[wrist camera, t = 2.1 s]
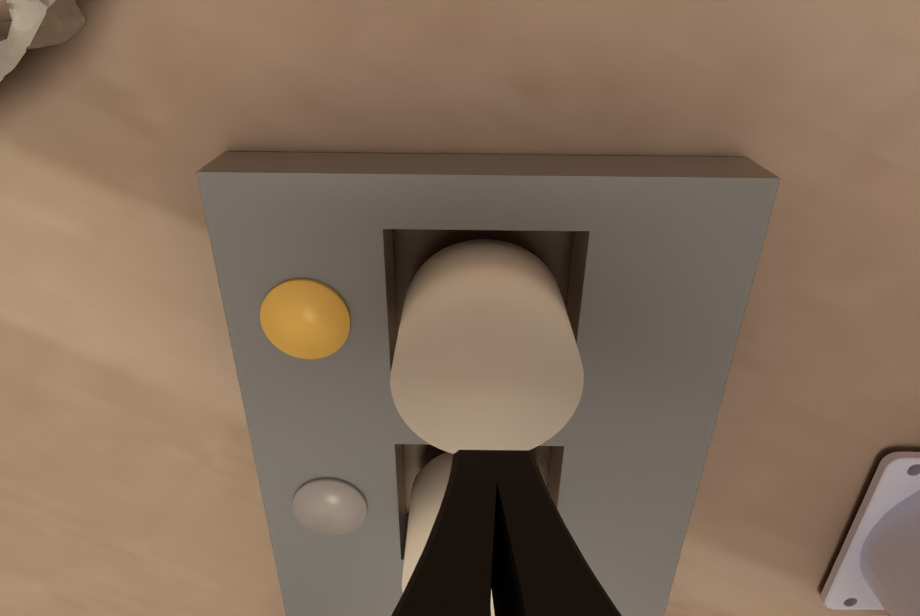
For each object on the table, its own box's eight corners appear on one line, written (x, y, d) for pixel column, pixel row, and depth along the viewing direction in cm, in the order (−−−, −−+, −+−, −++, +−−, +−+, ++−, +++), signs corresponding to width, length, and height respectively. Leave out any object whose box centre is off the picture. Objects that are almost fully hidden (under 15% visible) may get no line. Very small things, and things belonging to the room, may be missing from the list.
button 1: (569, 239, 16) (594, 300, 13) (555, 379, 18) (573, 459, 15) (400, 238, 16) (385, 298, 13) (406, 377, 18) (394, 457, 15)
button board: (746, 156, 16) (783, 180, 14) (629, 653, 27) (642, 706, 25) (225, 151, 16) (192, 174, 14) (313, 649, 27) (301, 701, 25)
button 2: (548, 446, 19) (563, 534, 16) (538, 543, 21) (550, 636, 18) (409, 445, 19) (398, 532, 16) (413, 542, 21) (404, 634, 18)
